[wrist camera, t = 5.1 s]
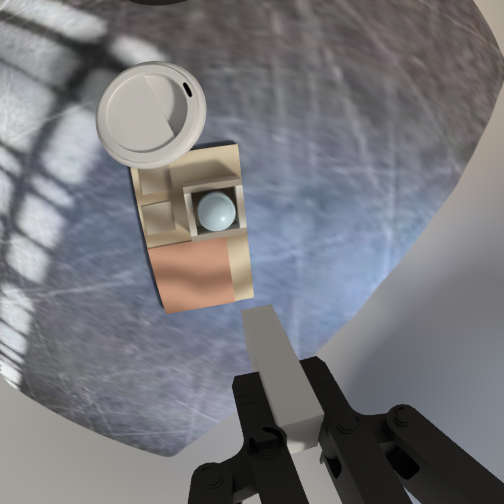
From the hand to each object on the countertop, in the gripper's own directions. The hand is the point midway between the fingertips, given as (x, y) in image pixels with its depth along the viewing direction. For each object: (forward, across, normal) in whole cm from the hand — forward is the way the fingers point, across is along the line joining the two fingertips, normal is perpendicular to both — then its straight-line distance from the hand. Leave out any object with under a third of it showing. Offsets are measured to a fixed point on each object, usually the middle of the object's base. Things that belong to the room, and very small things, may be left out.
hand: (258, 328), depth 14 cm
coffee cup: (+27, -5, +12) cm, 29 cm away
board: (+26, -3, -4) cm, 27 cm away
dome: (+24, 0, 0) cm, 24 cm away
